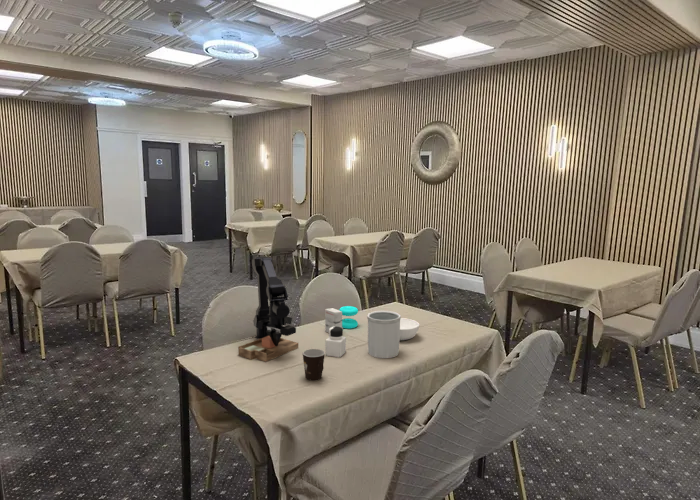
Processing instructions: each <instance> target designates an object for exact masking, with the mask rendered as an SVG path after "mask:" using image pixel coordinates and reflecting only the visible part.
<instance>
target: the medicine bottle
mask: <svg viewBox="0 0 700 500" xmlns="http://www.w3.org/2000/svg"><path fill="white" fill-rule="evenodd" d="M343 330H344V328H341V327H337V326H334V327H331V328H330V329H329V333H328V337H327V338H326V339H325V345H324V346H325V347H324V348H325V349H324V352H325V356H328V357H333V358H334V357H336V358H342V356H343V355H345V353H346V352H347V351H346V350H347V349H346V348H347V344H346V343H347V341H346V340H347V337H346V336H343V335H344V334H343V332H344V331H343Z"/></svg>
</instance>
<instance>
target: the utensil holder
mask: <svg viewBox="0 0 700 500" xmlns="http://www.w3.org/2000/svg"><path fill="white" fill-rule="evenodd" d="M366 317H367V353H368V354H369V355H370V356H371V357H374V358H378V359H391V358H394V357H397V356H398V355H399V352H400V351H399V350H400V340H399V339H400V319H401V318H402V316H401V314H400V313H398V312H396V311H393V310H392V311H391V310H374V311H372V312H368V313H367V316H366Z"/></svg>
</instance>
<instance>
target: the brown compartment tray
mask: <svg viewBox="0 0 700 500" xmlns="http://www.w3.org/2000/svg"><path fill="white" fill-rule="evenodd" d="M266 337H267V336H266ZM237 348H238V350H237V351H238V352H237V353H238V357H239V356H240V357H242V358H246V359H247V360H250V361H252V360H254V359H255V360H258V361H262V362H265V363H266V362H269V361H271V360H273V359H276V358H278V357H280V356H283V355H286V354H288V353H291V352H292V351H295V350H297V349H299V342H295V341H293V340H289V339H286V338H282V337H281V338H280V341H279V343H278V346H275V347H272V348H267V347H264V346H262V338H261V339H256V340H253V341H250V342H248V343H245V344H242V345H239V346H238V347H237Z"/></svg>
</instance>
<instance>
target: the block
mask: <svg viewBox="0 0 700 500" xmlns="http://www.w3.org/2000/svg"><path fill="white" fill-rule="evenodd" d="M262 346H264V347H267V348H272V347H275V345H274V343H273V341H272V339H271V338H270V336H267V337H264V338H262Z"/></svg>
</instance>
